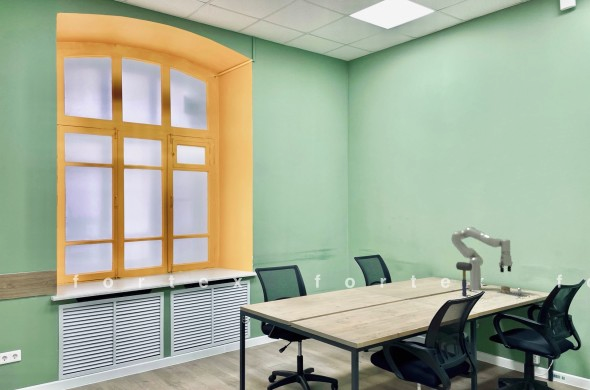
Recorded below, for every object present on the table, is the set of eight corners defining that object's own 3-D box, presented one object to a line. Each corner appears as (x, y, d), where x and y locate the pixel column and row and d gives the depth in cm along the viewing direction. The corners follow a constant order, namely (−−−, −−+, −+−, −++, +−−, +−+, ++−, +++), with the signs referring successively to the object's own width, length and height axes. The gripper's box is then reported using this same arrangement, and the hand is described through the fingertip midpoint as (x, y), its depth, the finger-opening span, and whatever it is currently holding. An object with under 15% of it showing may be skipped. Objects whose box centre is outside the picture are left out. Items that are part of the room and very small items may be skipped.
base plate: (496, 293, 407) (496, 292, 407) (505, 292, 412) (505, 290, 412) (520, 298, 386) (520, 297, 386) (529, 297, 391) (529, 295, 391)
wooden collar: (499, 292, 407) (499, 286, 407) (504, 291, 410) (504, 285, 410) (506, 293, 400) (506, 288, 400) (511, 292, 403) (511, 287, 403)
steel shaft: (517, 295, 393) (517, 287, 393) (519, 294, 394) (519, 287, 394) (519, 295, 391) (519, 288, 391) (521, 295, 392) (521, 288, 392)
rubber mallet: (473, 296, 396) (472, 262, 396) (468, 297, 391) (468, 263, 391) (460, 294, 405) (459, 261, 406) (455, 295, 400) (455, 261, 401)
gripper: (502, 253, 399) (502, 273, 398) (515, 253, 407) (515, 271, 406) (495, 253, 405) (495, 271, 405) (508, 252, 413) (508, 270, 413)
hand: (505, 271), depth 406 cm, fingers open, 9 cm apart
